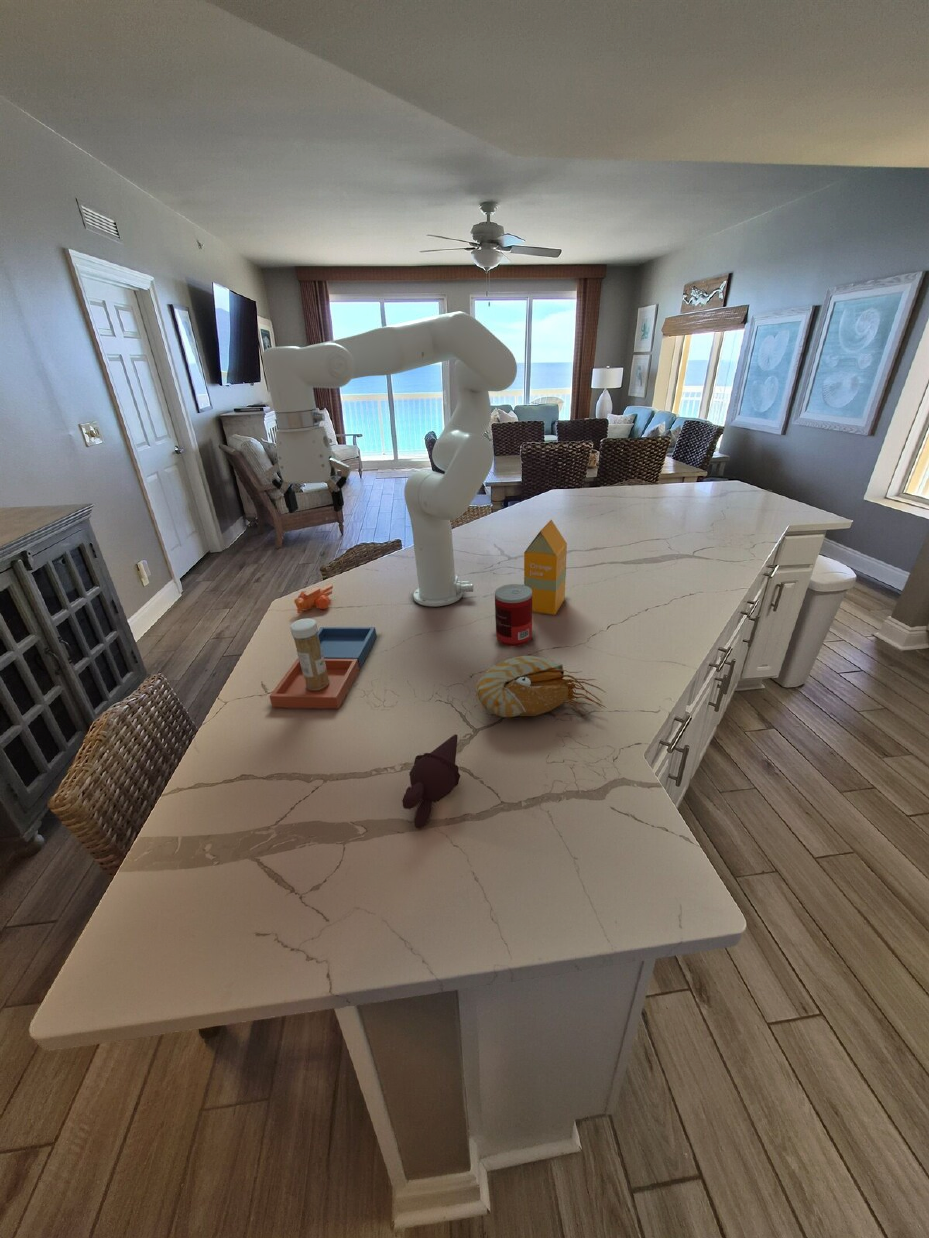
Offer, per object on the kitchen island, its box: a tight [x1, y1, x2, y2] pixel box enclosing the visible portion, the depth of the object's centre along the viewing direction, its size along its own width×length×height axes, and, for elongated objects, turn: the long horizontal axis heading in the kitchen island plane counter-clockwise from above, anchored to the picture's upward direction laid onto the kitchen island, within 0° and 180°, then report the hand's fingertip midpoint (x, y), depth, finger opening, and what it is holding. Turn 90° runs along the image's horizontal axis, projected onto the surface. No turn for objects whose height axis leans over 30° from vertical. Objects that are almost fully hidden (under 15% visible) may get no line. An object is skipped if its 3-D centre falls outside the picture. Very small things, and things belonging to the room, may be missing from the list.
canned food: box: [494, 583, 533, 647], centre depth 104 cm, size 8×8×11 cm
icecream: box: [401, 733, 461, 830], centre depth 69 cm, size 7×7×15 cm
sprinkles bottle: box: [289, 618, 330, 691], centre depth 91 cm, size 5×5×13 cm
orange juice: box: [523, 519, 568, 616], centre depth 115 cm, size 8×9×20 cm
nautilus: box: [475, 655, 607, 718], centre depth 83 cm, size 8×22×15 cm
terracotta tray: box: [268, 658, 360, 710], centre depth 94 cm, size 13×13×2 cm
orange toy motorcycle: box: [293, 583, 334, 614], centre depth 125 cm, size 5×8×12 cm
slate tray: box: [317, 626, 378, 669], centre depth 106 cm, size 13×13×2 cm
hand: (316, 510), depth 101 cm, fingers open, 9 cm apart
